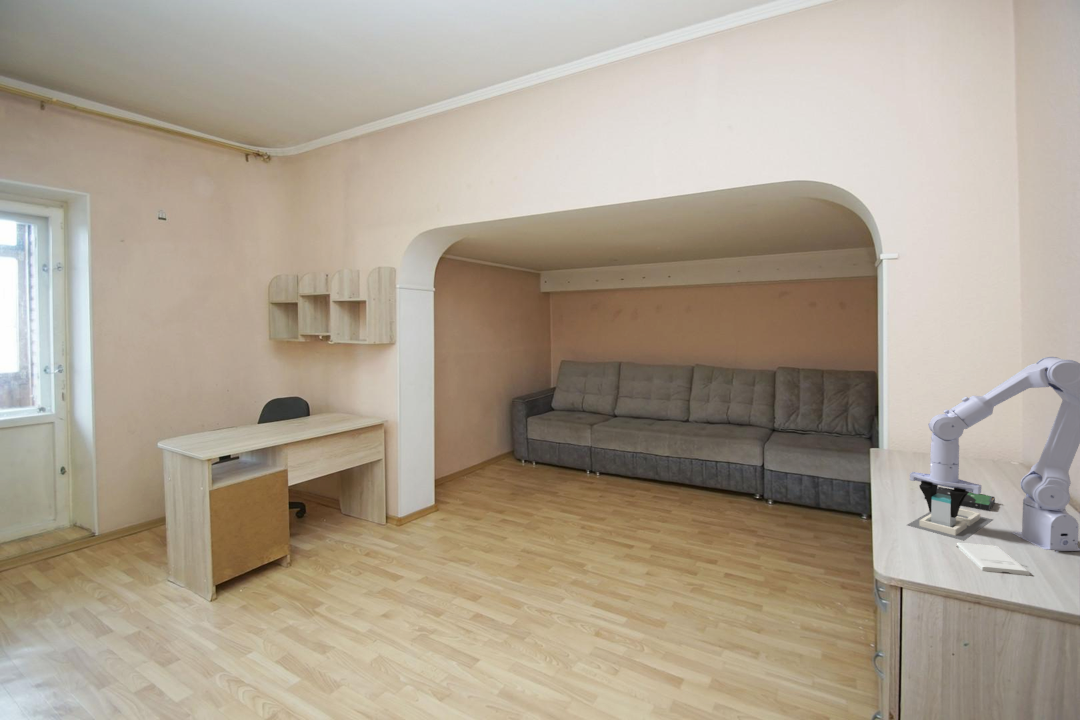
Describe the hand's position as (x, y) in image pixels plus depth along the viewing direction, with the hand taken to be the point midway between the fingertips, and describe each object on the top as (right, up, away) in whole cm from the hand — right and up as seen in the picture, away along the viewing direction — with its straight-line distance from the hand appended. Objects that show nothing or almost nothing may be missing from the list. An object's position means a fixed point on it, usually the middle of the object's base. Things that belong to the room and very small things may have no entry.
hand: (943, 513), depth 131 cm
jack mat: (+4, -4, +3) cm, 6 cm away
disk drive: (+19, -3, +18) cm, 26 cm away
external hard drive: (-3, -6, -17) cm, 18 cm away
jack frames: (+4, -4, +3) cm, 6 cm away
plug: (0, -3, 0) cm, 3 cm away
